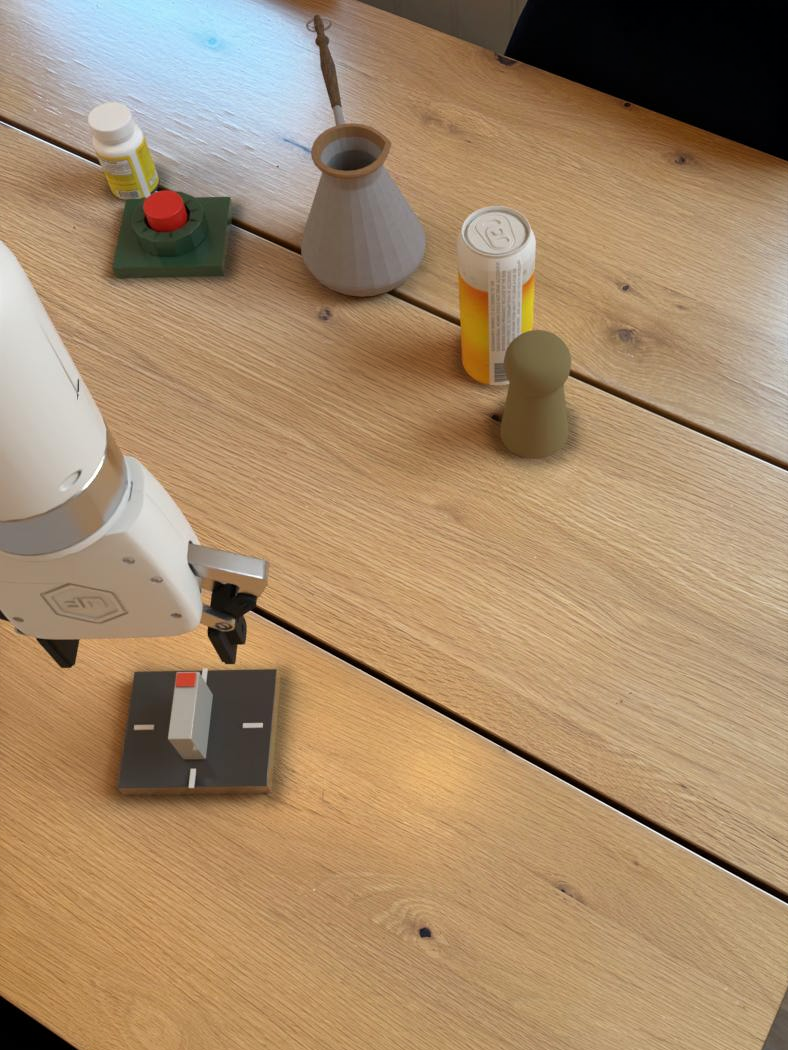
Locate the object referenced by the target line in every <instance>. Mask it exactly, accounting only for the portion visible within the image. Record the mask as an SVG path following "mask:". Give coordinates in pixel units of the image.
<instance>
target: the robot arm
mask: <svg viewBox="0 0 788 1050" xmlns="http://www.w3.org/2000/svg"><path fill="white" fill-rule="evenodd" d="M269 571H270V563H269V561H268V560H265V559H264V558H258V557H254V556H249V555H245V554H241V553H236V552H231V551H227V550H222V549H218V548H214V547H209V546H204V545H202V544H201V541H200V540H199V538H198V536H197V534H196V533H195V531H194V529H193V527H192V526H191V524H190V522H189V521H188V519H187V518H186V516H185V514H184V513H183V512H182V510H181V509H180V508H179V506H178V505H177V503H176V501H175V500H174V499H173V497H172V496H171V495H170V494H169V493H168V491H167V490H166V489H165V488H164V486H163V485H162V483H160V482H159V481H158V479H156V477H155V476H154V475H153V474H152V473H151V472H150V471H149V470H148V469H147V468H146V467H145V465H143V464H142V462H141V461H140V460H138V459H137V458H136V457H135V456H131V455H128V454H127V455H126V454H123V452H122V450H121V449H120V447H119V445H118V443H117V441H116V439H115V437H114V436H113V433H112V432H111V430H110V428H109V426H108V425H107V423H106V421H105V419H104V416H103V415H102V413H101V410H100V409H99V407H98V405H97V403H96V402H95V400H94V398H93V396H92V394H91V391H89V389H88V387H87V385H86V383H85V380H84V379H83V377H82V376H81V373H80V371H79V370H78V368H77V366H76V364H75V363H74V361H73V358H72V357H71V355H70V353H69V351H68V349H67V347H66V346H65V343H64V342H63V340H62V338H61V336H60V334H59V333H58V330H57V328H56V327H55V325H54V323H53V321H52V320H51V318H50V316H49V314H48V311H47V310H46V308H45V306H44V305H43V303H42V301H41V299H40V297H39V295H38V293H37V291H36V289H35V287H34V286H33V284H32V282H31V280H30V279H29V277H28V274H26V272H25V270H24V269H23V267H22V265H21V263H20V262H19V260H18V259H17V257H16V256H15V254H14V253H13V252H12V251H11V249H10V248H9V247H8V246H7V245H6V244H5V242H3V241H2V240H1V239H0V620H2V621H6V622H9V623H11V624H12V625H13V627H14V629H13V630H14V632H15V633H16V634H18V635H21V636H23V637H32V638H35V639H36V641H37V643H38V644H39V645H40V646H41V647H42V648H43V649H44V651H46V652H47V654H48V655H49V656H50V657H51V659H52V660H54V662H55V663H56V665H58V666H59V668H61V669H72V668H73V666H75V665H76V663H77V662H76V661H77V657H78V651H79V645H80V640H113V639H114V640H115V639H141V638H142V639H144V638H145V639H147V638H148V639H149V638H170V637H177V636H182V635H185V634H188V633H190V632H191V633H192V632H193V631H194V630H196V629H197V628H198V627H199V626H200V624H201V625H204V626H206V627H207V632H206V633H207V634H206V635H207V638H208V640H209V641H210V643H211V644H212V646H213V649H214V650H215V652H216V654H217V656H218V657H219V659H220V661H221V662H222V663H224V664H225V665H235V664H236V662H237V653H238V646H239V645H241V646H242V645H245V644H246V641H247V633H248V627H247V620H246V617H245V616H244V615H246V614H247V613H249V612H251V611H252V610H254V609H255V608H256V607H257V604H258V603H257V602H258V600H259V598H261V596H262V594H263V593H264V591H265V590H266V588H267V586H268V584H269V583H268V582H269V574H270V573H269ZM202 589H205V590H207V591H209V592H211V597H210V604H209V605H208V604H206V603H204V602H203V599H202Z"/></svg>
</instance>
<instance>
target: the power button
mask: <svg viewBox="0 0 788 1050" xmlns="http://www.w3.org/2000/svg"><path fill="white" fill-rule="evenodd" d="M143 209H144V212H145V215H146V218H147V220H148V223H149V225H150V227H151V228H152V229H153V230H155V231H157V232H172V231H174V230H177V229H179V228H182V227H183V226H184V225H185V224H186V222H187V218H188V215H187V212H186V209H185V206H184V203H183V200H182V198H181V196H180V195H179V194H177V193H175V192H173V190H159V191H155V192H154V193H153V194H151V195H150V196H149V197H148V198H147V199H146V200H145V202H144V205H143Z"/></svg>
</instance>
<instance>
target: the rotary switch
mask: <svg viewBox="0 0 788 1050" xmlns="http://www.w3.org/2000/svg"><path fill="white" fill-rule="evenodd" d="M177 672H199V673H200V674H201V676H202V678H203V679H204V681H205V683H206V684H207V686H208V687H209V689H210V691H211V692H212V694H213V699H212V708H211V717H210V726H209V735H208V744H207V753H206V759H185V760H184V759H183V758H182V757H181V755H180V754H179V753H178V751H177V750H176V749H175V748H174V746H173V745H172V744H171V742H170V741H169V740H168V734H169V726H170V718H171V711H172V703H173V696H174V688H175V680H176V673H177ZM280 691H281V675H280V674H279V672H278V670H277V669H276V668H268V669H267V668H266V669H264V668H263V669H261V668H260V669H211V670H209V668H208V667H202V669H201V670H154V671H153V670H152V671H148V670H147V671H134V673H133V678H132V686H131V693H130V699H129V707H128V713H127V719H126V726H125V733H124V739H123V744H122V745H123V746H122V753H121V759H120V766H119V767H120V768H119V772H118V780H117V786H116V788H117V790H118V791H119V792H120V793H121V794H122V795H123V796H173V795H175V796H176V795H177V796H178V795H179V796H180V795H232V794H233V795H234V794H237V795H238V794H239V795H240V794H271V793H272V790H273V789H272V788H273V777H274V763H275V753H276V751H275V750H276V742H277V741H276V739H277V729H278V728H277V727H278V714H279V703H280Z"/></svg>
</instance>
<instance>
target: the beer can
mask: <svg viewBox="0 0 788 1050" xmlns="http://www.w3.org/2000/svg"><path fill="white" fill-rule="evenodd" d="M536 247H537V241H536V236H535V232H534V231H533V230H532V227H531V224H530V222H529V220H528V218H527V217H526V216H525V215H524V214H523V213H521V212H520V211H518V210H516V209H514V208H512V207H509V206H503V205H491V206H485V207H481V208H479V209H477V210H475V211H473V212H471V213H470V214H469V215H468V216H467V217H466V218H465V219H464V221H463V223H462V225H461V229H460V231H459V232H458V234H457V237H456V260H457V280H458V281H457V283H458V299H459V300H458V302H459V318H460V319H459V323H460V343H461V361H462V366H463V369H464V370H465V372H466V373H467V374H468V375H469V376H470V377H471V378H472V379H473V380H475V381H476V382H479V383H481V384H484V385H488V386H505V385H509V384H510V382H509V381H508V379H507V377H506V374H505V369H504V357H505V353H506V350H507V348H508V346H509V345H510V343H511V342H512V341H513V340H514V339H515V338H516V337H518V336H519V335H520V334H522V333H525V332H527V331H532V330H534V329H533V328H534V303H535V276H536V275H535V274H536V273H535V272H536V251H537V249H536Z"/></svg>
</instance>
